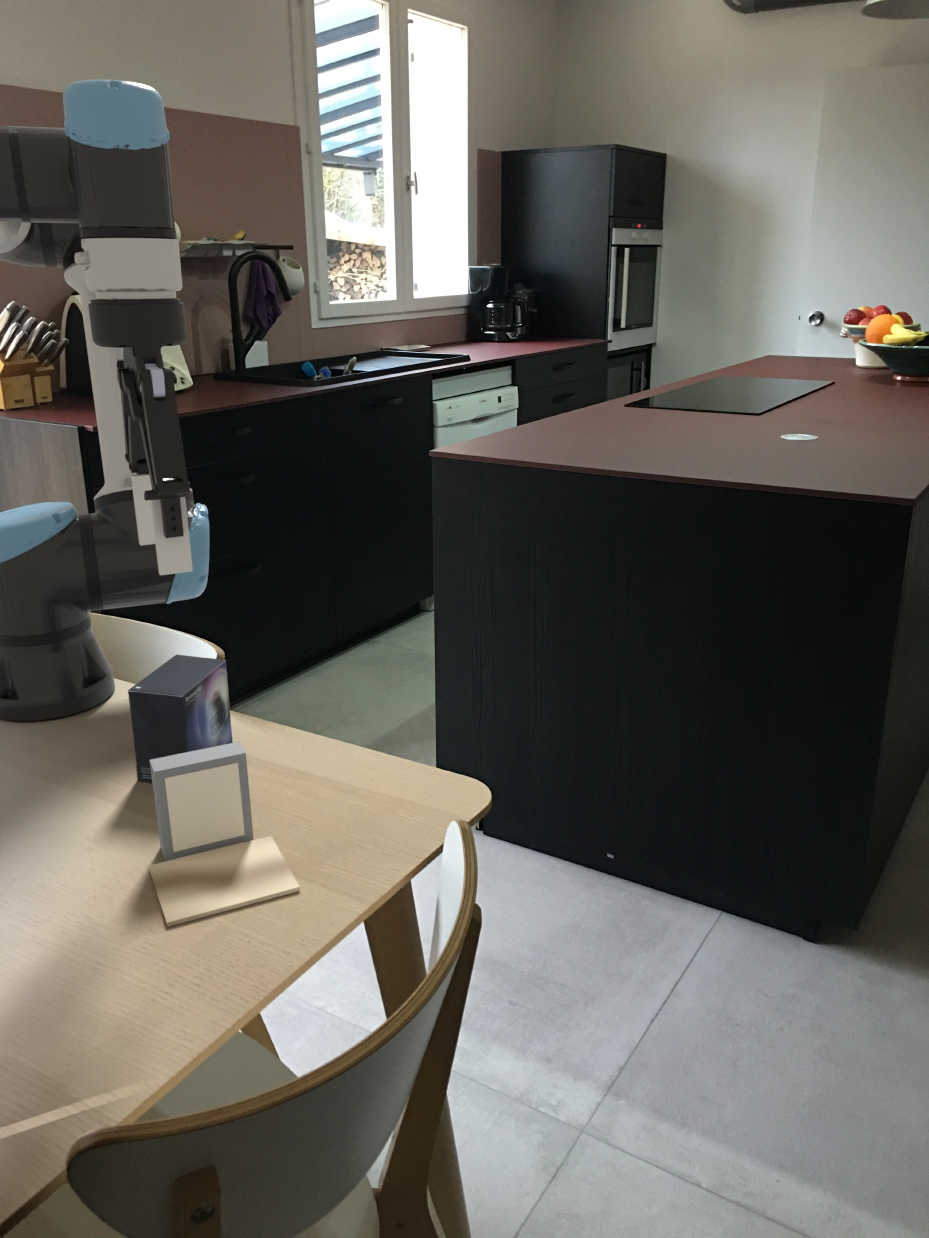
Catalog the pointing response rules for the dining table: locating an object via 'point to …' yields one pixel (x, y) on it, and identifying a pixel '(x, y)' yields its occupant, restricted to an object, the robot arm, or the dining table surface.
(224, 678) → the small box
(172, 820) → the grey square slab
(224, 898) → the cork mat
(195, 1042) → the dining table surface
